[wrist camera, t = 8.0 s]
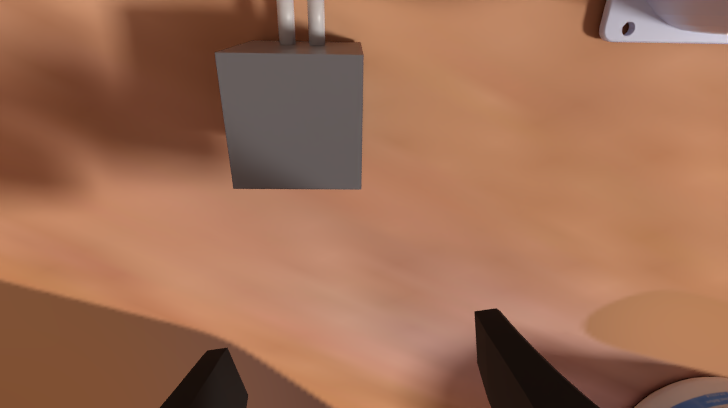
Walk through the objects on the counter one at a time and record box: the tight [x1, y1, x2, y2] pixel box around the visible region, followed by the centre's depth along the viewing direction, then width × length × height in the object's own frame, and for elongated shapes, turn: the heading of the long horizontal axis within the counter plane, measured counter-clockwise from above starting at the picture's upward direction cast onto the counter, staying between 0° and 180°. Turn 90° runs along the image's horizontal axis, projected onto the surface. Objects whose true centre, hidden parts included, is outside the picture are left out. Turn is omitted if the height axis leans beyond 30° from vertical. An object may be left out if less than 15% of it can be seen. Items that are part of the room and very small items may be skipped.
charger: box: [215, 0, 363, 189], centre depth 15 cm, size 6×4×5 cm
